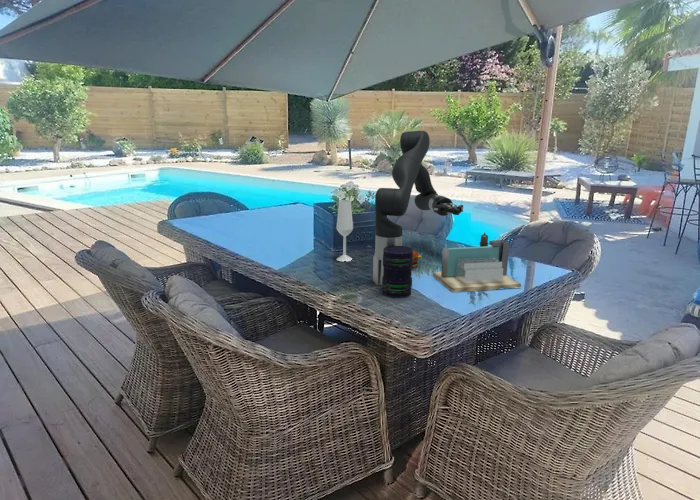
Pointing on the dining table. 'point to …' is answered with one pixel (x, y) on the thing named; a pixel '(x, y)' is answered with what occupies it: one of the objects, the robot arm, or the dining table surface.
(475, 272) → the cooler block
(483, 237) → the chess piece
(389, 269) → the storage jar
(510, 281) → the mounting board
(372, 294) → the dining table surface
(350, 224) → the champagne flute
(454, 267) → the teal upright panel
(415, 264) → the hamburger
